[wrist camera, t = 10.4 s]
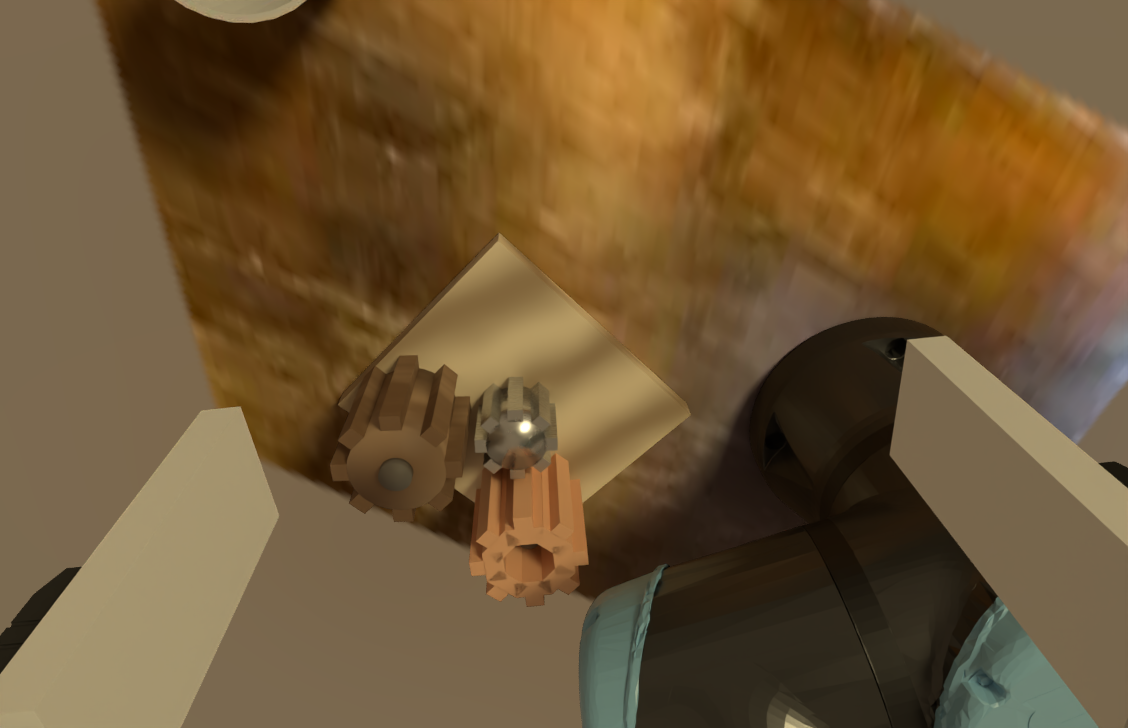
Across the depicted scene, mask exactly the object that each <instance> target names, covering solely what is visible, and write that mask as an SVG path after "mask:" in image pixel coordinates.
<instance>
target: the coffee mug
mask: <svg viewBox="0 0 1128 728" xmlns="http://www.w3.org/2000/svg"><path fill="white" fill-rule="evenodd" d="M175 1H176V2H178V3H179V4H181V5H182V6H184V7H186V8H188V9H190V10H193V11H195V12H197V13H200V14H202V15H204V16H206V17H209V18H214V19H218V20H223V21H227V22H233V23H256V22H261V21H266V20H271V19H275V18H278V17H280V16H282V15H284V14H286V13H288V12H291V11H293V10H295V9H296V8H298V7H299V6H301V5H302V4H304V3H305V2H307V1H308V0H175Z"/></svg>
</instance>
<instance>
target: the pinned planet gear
mask: <svg viewBox="0 0 1128 728" xmlns="http://www.w3.org/2000/svg"><path fill="white" fill-rule="evenodd" d="M457 377H458V374H456V373H455V372H454V371H453V370H451V369H450V368H449V367H448V366H446V365H445V364H444V365H443V366H442V367H441V368H440V369H439V370H438V371H437V372H436V373H433V372H431V371H428V370H425V369H420V368H419V362H418V355H405V356H399V359H398V362H397V365H396V368H395V370H394V371H392V372H390V373H388V374H386V373H384V372H383V371H382V370H380V369H379V368H378V367H376V366H374V367H373V368H372V369H371V370H370V371H369V372H368V373H367V374H366V375H365V376H364V378H363V381H362V383H361V385H360V388H359V390H358V393H357V395H356V397H355V400H354V402H353V405H352V407H351V409H350V412H349V414H348V417H347V419H346V421H345V424H344V426H343V429H342V431H341V433H340V436H339V438H338V441H339V444H338V446H337V449H336V451H335V453H334V456H333V458H332V461H331V463H330V469H331V474H332V479H333V481H349V480H350V483H351V484H352V486H353V488H354V490H353V493H352V496H351V499H350V502H349V504H351V505H352V506H354V507H355V508H357V509H358V510H360V511H361V512H363V513H366V512H367V511H368V510H369V509H370V508H372V507H373V506H374V505H377V506H380V507H383V508H387V509H392V512H393V519H394V522H405V521H413V520H414V516H415V511H416V508H417V507H420V506H422V505H425V504H426V503H428V504H430V505H431V506H433V507H434V508H436V509H437V510H439V511H441V510H442V509H443V508H444V507H446V506H447V505H448V504H449V503H450V502H451V501H452V500H453V494H454V487H455V480H456V478H461V477H462V476H463V468H464V461H465V453H466V446H467V438H468V430H469V423H470V415H471V403H470V396H455V388H456V382H457Z"/></svg>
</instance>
